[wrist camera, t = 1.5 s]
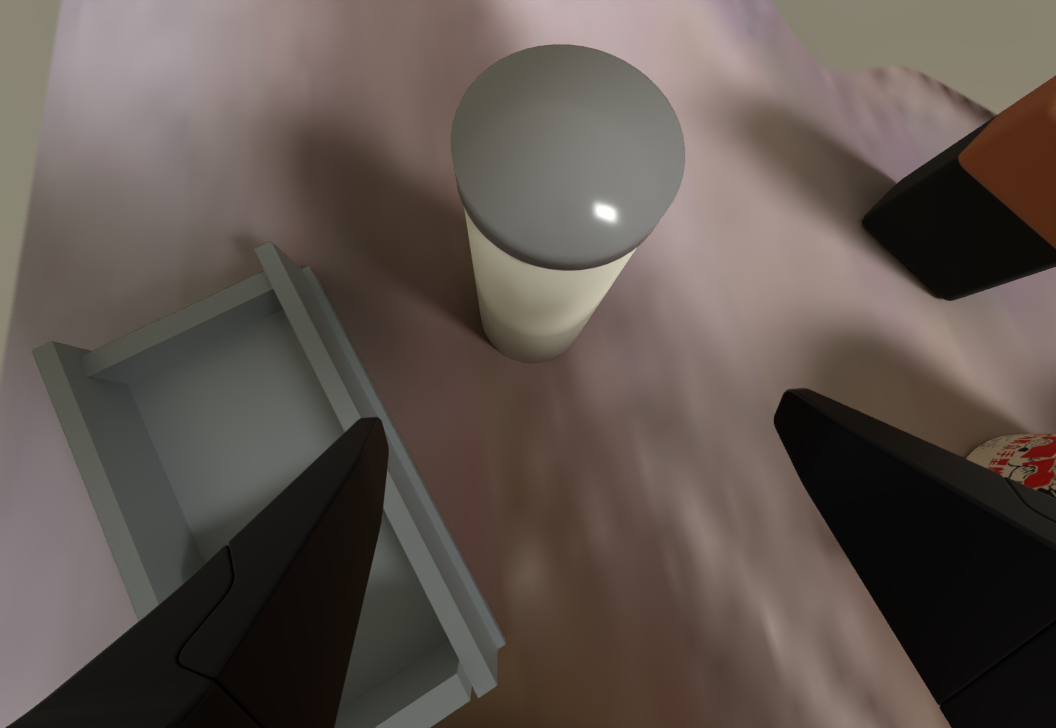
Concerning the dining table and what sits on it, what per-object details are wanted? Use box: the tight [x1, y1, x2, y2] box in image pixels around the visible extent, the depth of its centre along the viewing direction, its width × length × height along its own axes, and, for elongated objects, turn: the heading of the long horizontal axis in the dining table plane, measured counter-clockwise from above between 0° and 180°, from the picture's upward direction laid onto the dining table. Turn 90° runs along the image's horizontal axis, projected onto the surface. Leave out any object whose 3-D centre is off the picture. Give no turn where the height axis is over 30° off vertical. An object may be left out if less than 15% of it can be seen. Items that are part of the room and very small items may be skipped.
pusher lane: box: [32, 241, 506, 728], centre depth 18 cm, size 20×11×5 cm, turn 30°
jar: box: [451, 44, 685, 363], centre depth 17 cm, size 6×6×13 cm
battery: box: [862, 76, 1056, 301], centre depth 20 cm, size 4×7×10 cm, turn 43°
